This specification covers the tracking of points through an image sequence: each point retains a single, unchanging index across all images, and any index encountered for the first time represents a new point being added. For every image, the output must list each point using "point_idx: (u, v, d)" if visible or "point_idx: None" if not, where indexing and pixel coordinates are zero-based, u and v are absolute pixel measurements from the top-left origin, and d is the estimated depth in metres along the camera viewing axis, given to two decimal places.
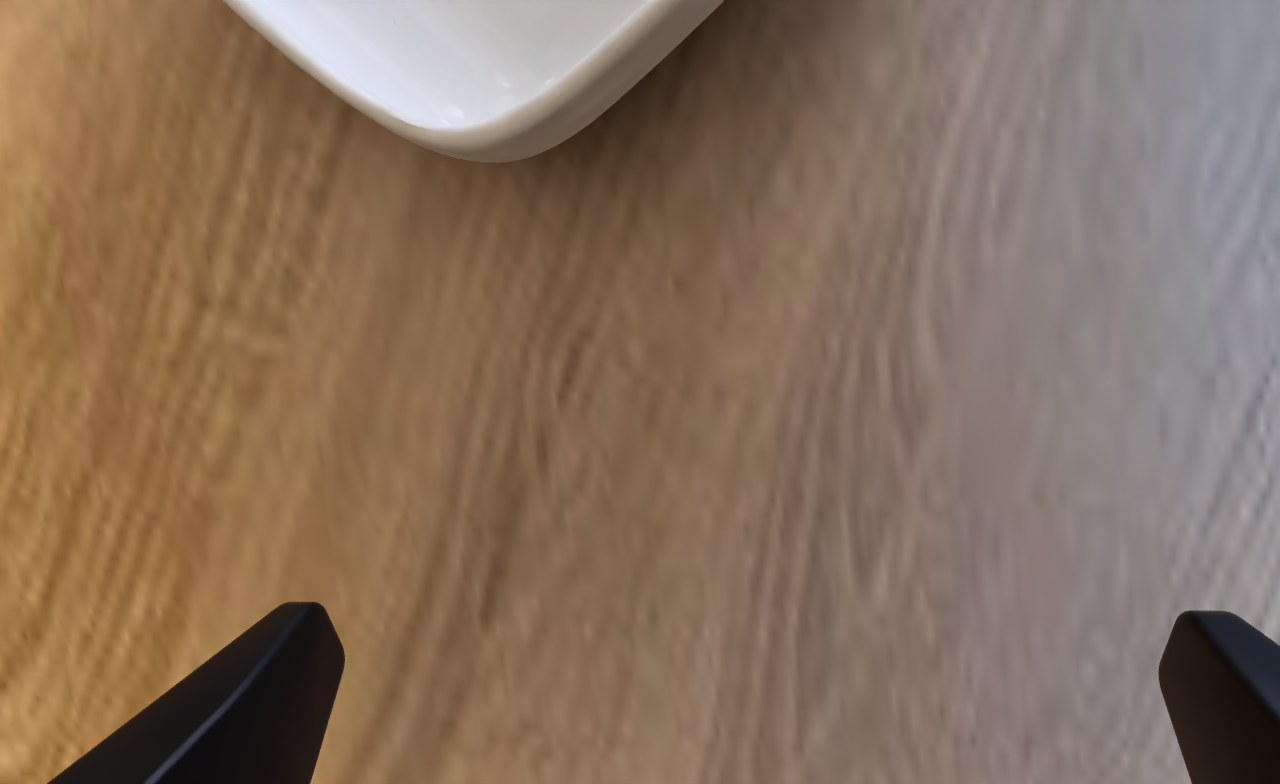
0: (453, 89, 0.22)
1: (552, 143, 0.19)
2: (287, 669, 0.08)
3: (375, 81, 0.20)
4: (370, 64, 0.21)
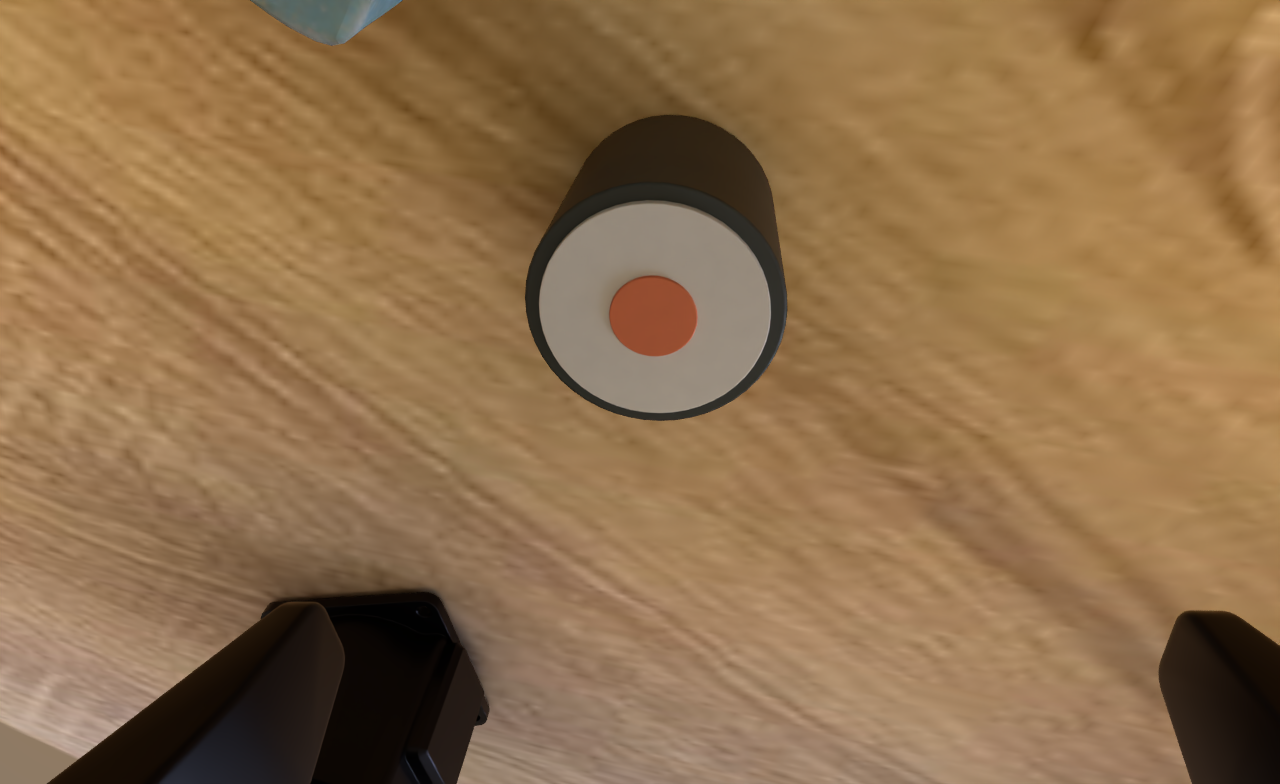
0: None
1: None
2: (287, 669, 0.08)
3: None
4: None
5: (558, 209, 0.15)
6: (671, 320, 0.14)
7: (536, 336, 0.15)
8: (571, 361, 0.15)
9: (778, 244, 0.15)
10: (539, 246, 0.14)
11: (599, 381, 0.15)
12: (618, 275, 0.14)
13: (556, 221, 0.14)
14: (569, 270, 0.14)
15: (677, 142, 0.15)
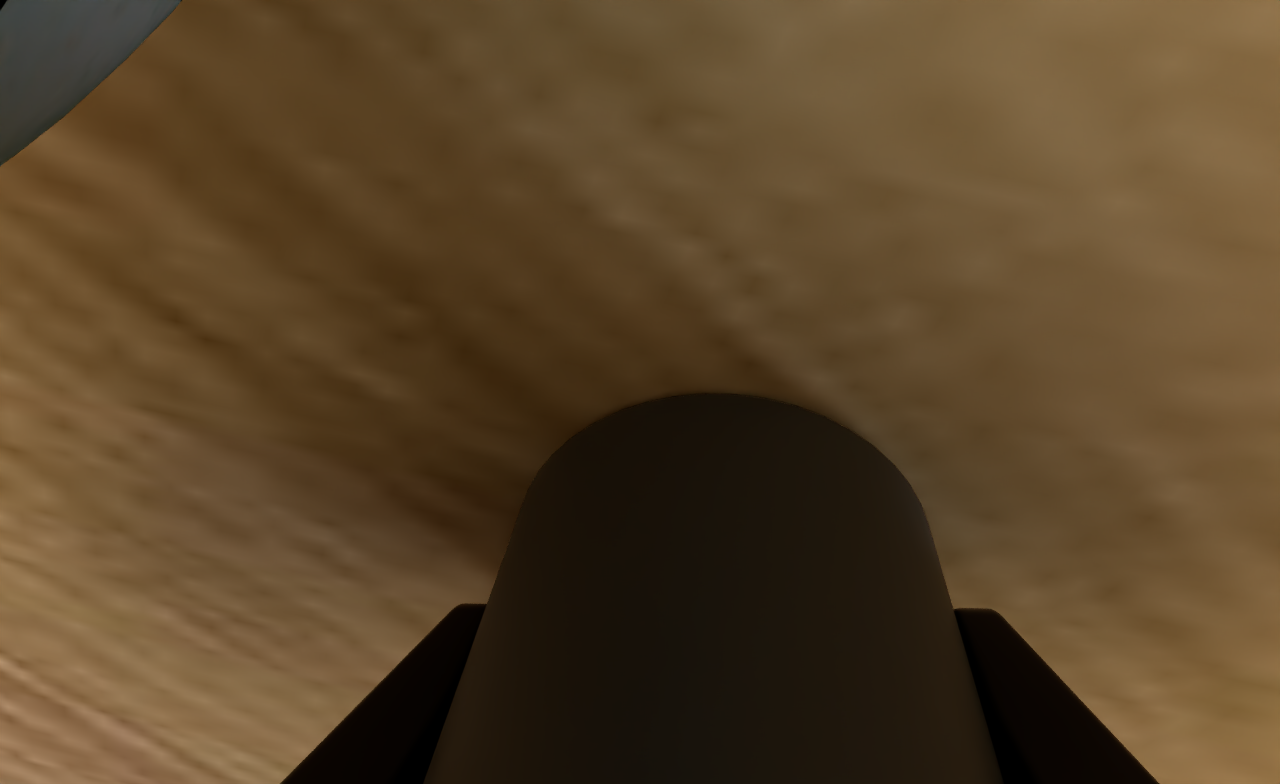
0: None
1: None
2: None
3: None
4: None
5: (459, 739, 0.06)
6: None
7: None
8: None
9: None
10: None
11: None
12: None
13: None
14: None
15: (782, 567, 0.06)
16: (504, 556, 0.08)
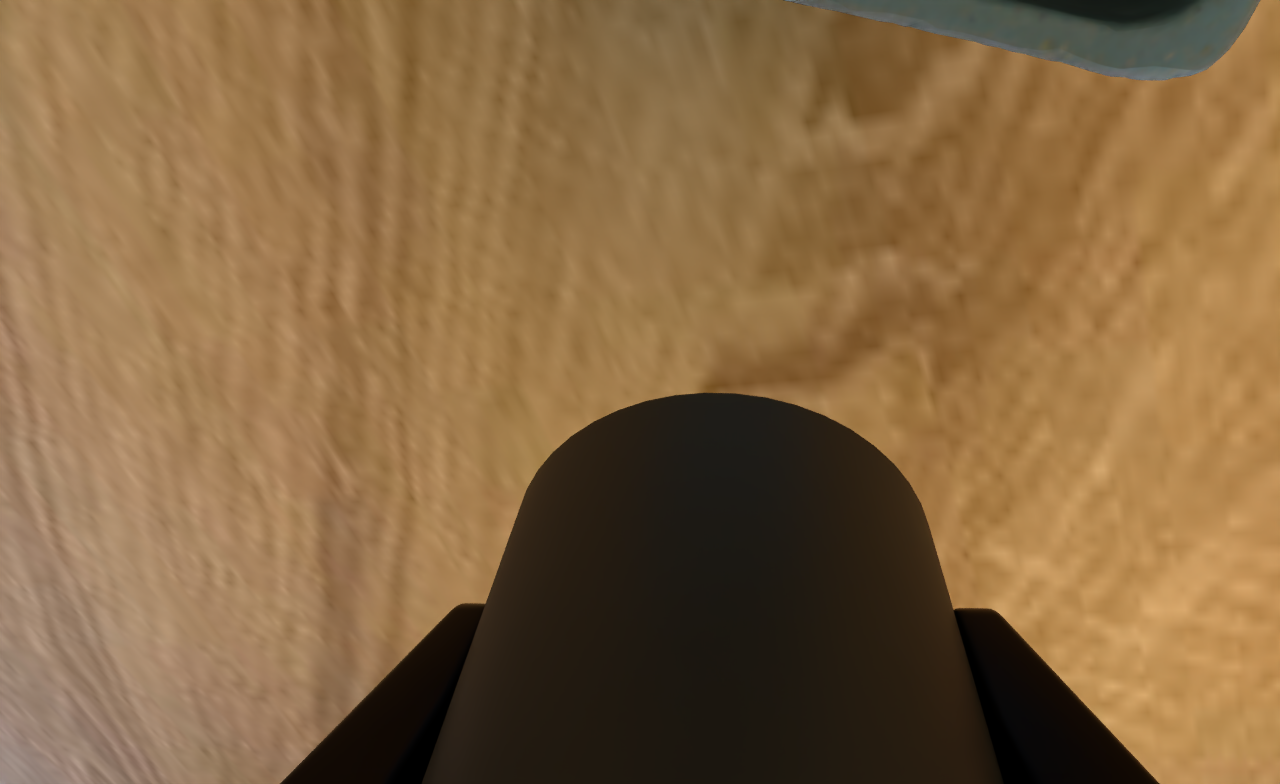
0: None
1: None
2: None
3: None
4: None
5: (458, 738, 0.06)
6: None
7: None
8: None
9: None
10: None
11: None
12: None
13: None
14: None
15: (781, 566, 0.06)
16: (503, 555, 0.08)
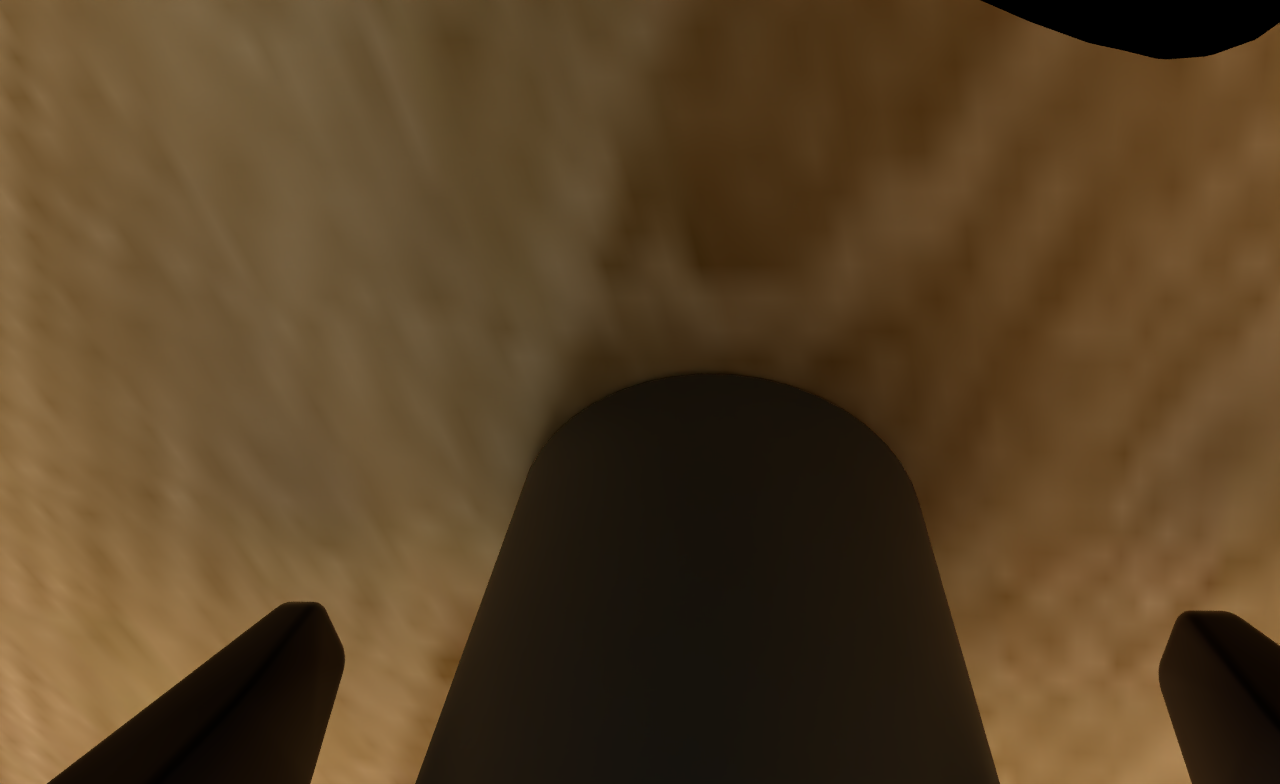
0: None
1: None
2: (287, 669, 0.08)
3: None
4: None
5: (465, 697, 0.06)
6: None
7: None
8: None
9: None
10: None
11: None
12: None
13: None
14: None
15: (774, 533, 0.06)
16: None
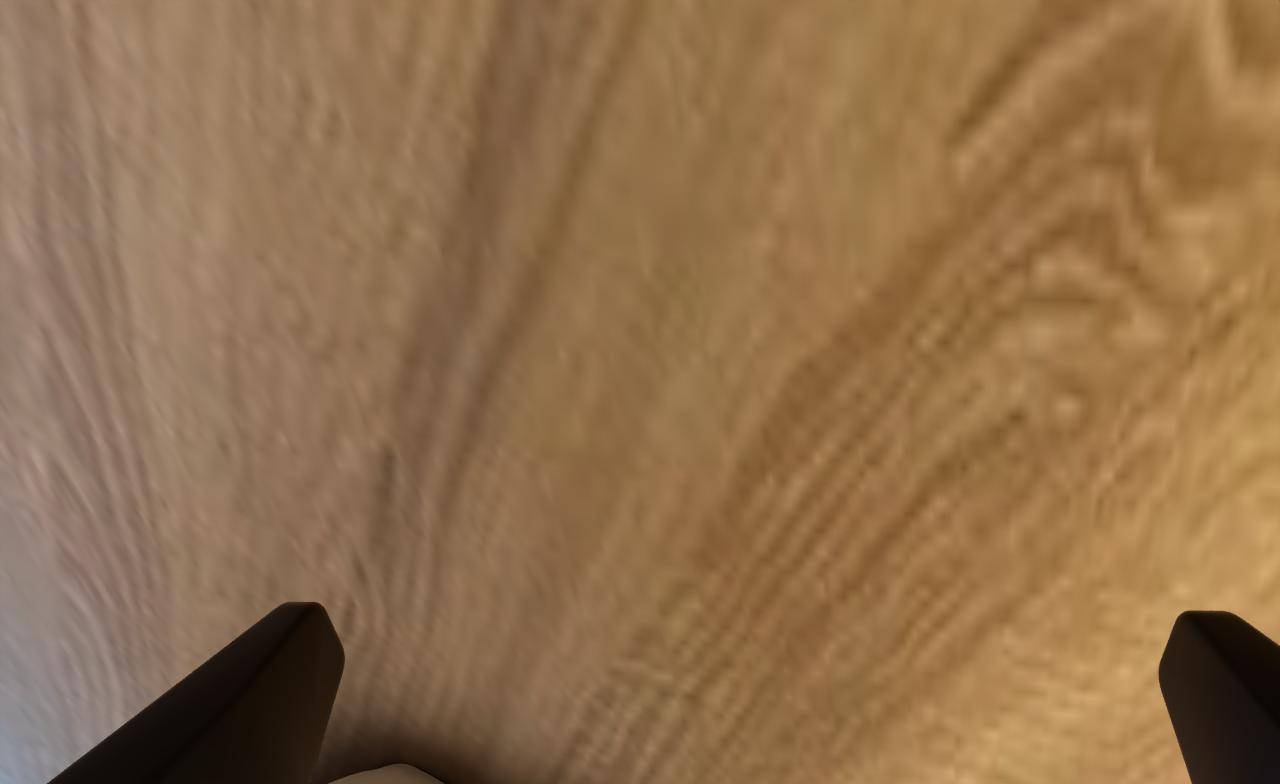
0: None
1: None
2: (287, 669, 0.08)
3: None
4: None
5: None
6: None
7: None
8: None
9: None
10: None
11: None
12: None
13: None
14: None
15: None
16: None
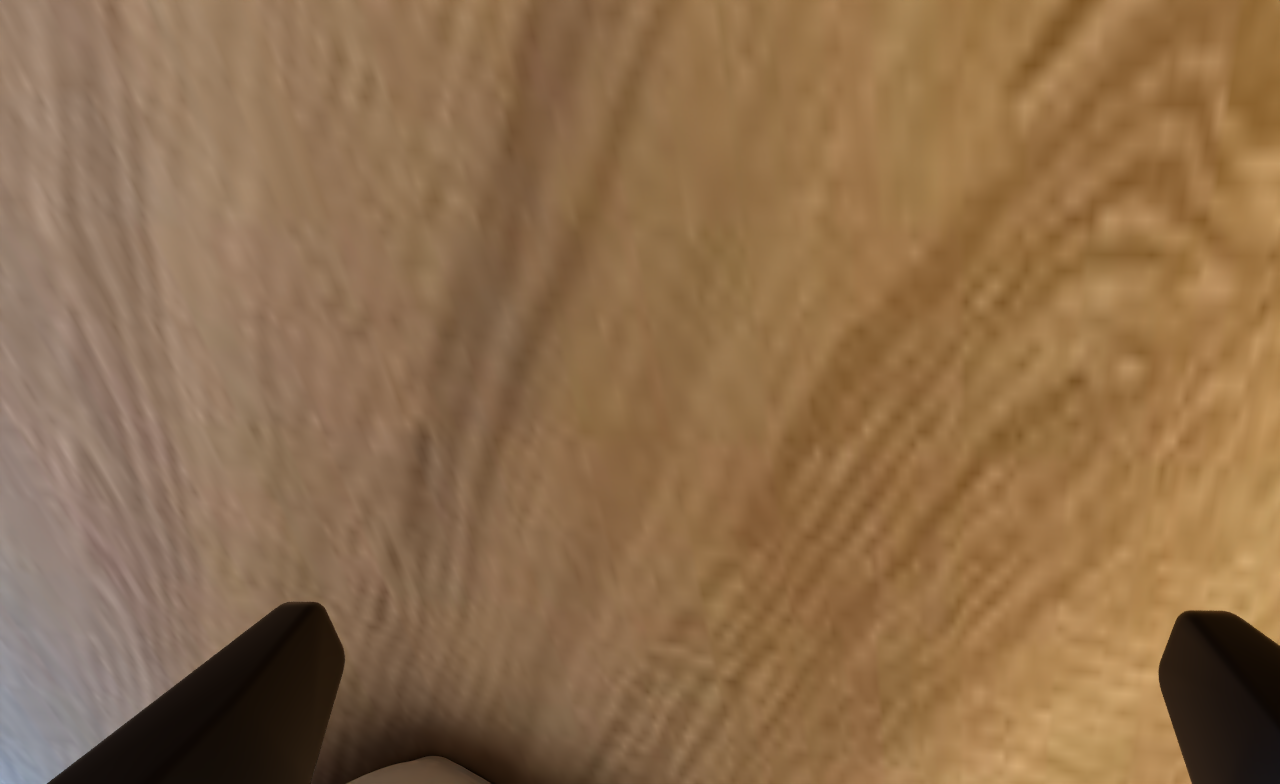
0: None
1: None
2: (287, 669, 0.08)
3: None
4: None
5: None
6: None
7: None
8: None
9: None
10: None
11: None
12: None
13: None
14: None
15: None
16: None
